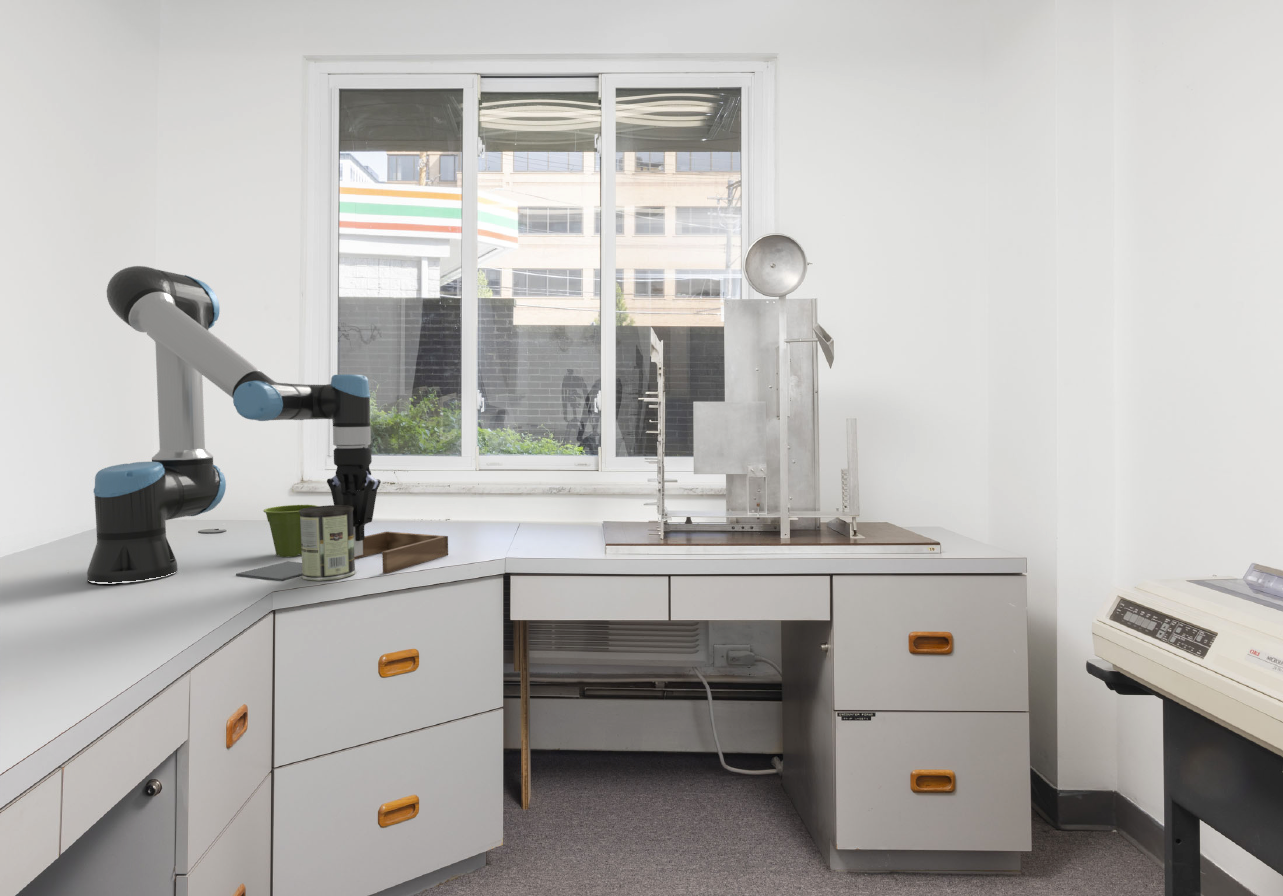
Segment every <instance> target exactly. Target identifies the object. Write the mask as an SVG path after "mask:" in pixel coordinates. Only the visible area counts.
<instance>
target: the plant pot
mask: <svg viewBox="0 0 1283 896" xmlns="http://www.w3.org/2000/svg"><path fill="white" fill-rule="evenodd" d="M316 506H317V505H315V504H289V505H287V504H286V505H281V506H280V505H279V506H272V507H268V508H265V509H263V510H262V511H263V512H264V513H265V514H266V519H267V522H268V524H269V528H270V533H271V535H272V541H273V546H274V551H275V555H276V556H278V557H281V558H295V557H297V556H300V555H301V556H302V548H301V524H300V513H299V510H301V509H304V508H309V507H316Z"/></svg>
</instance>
